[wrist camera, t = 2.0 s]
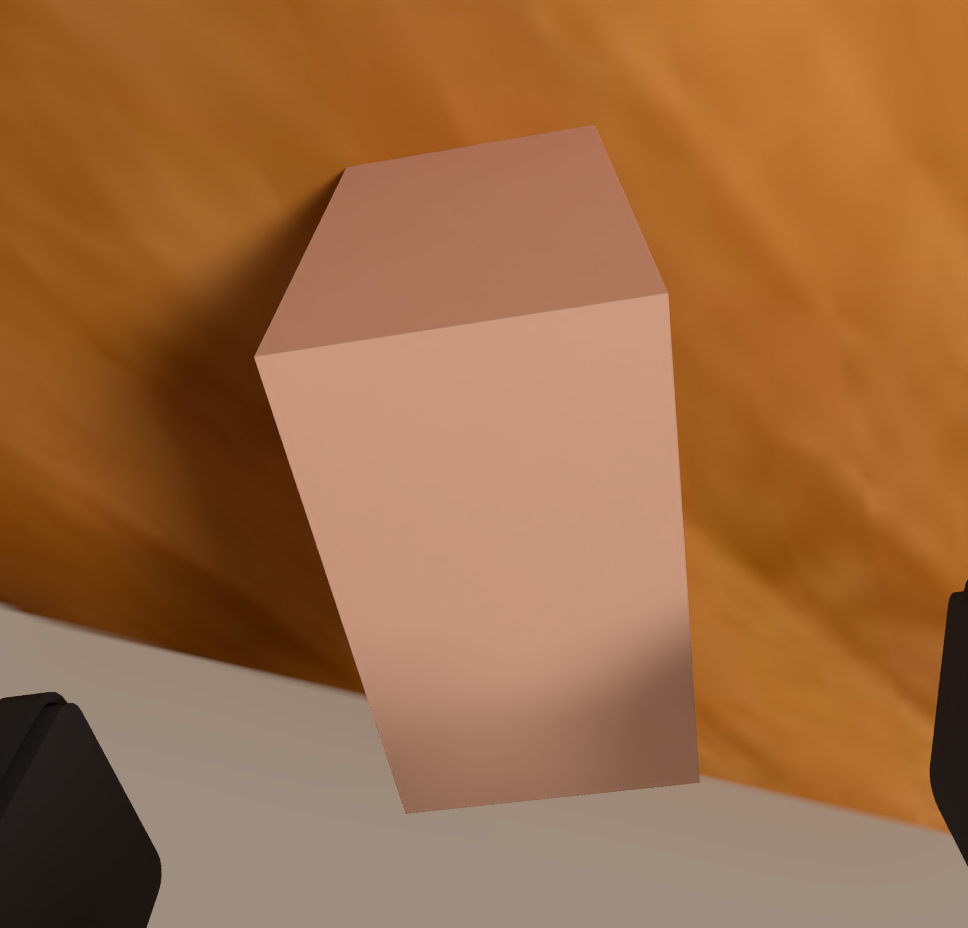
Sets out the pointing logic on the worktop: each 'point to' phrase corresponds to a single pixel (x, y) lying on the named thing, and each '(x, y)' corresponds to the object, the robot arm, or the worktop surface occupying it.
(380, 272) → the key block
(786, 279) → the worktop surface
